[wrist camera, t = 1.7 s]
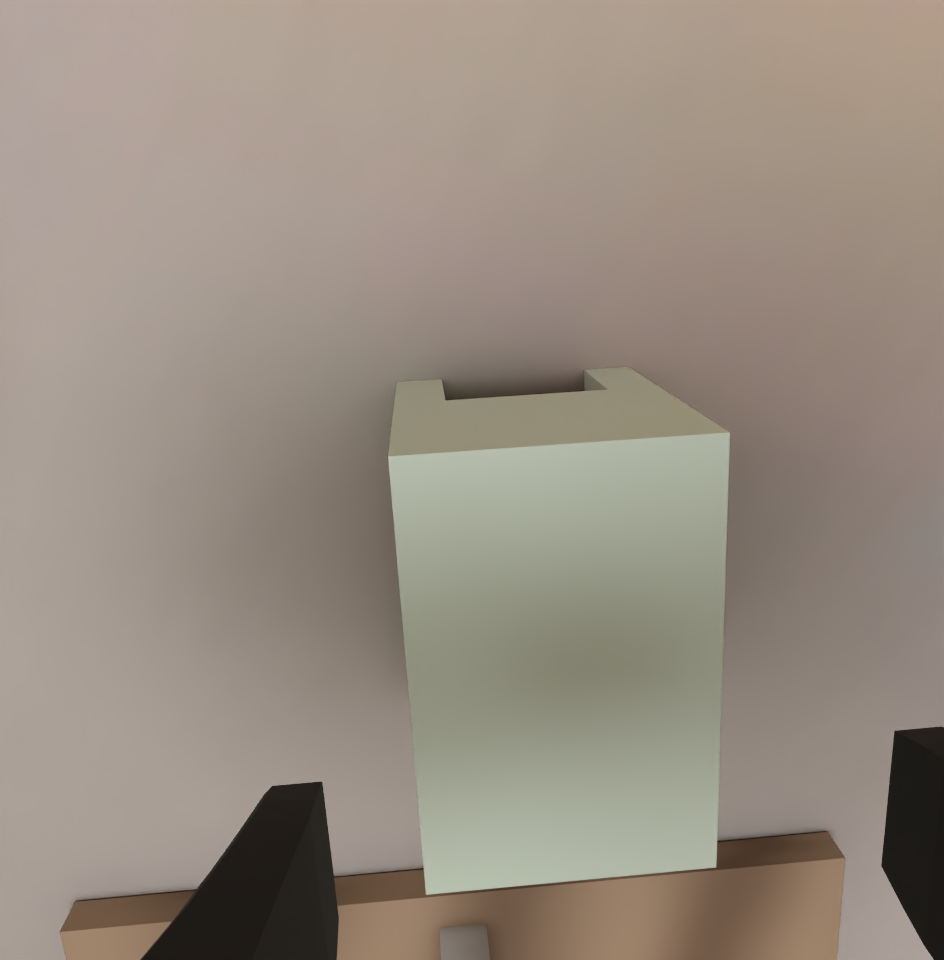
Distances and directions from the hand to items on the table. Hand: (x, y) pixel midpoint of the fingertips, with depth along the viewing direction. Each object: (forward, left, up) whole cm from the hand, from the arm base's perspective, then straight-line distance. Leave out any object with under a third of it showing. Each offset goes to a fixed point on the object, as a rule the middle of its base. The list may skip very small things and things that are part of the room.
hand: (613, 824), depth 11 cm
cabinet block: (0, 0, -10) cm, 10 cm away
